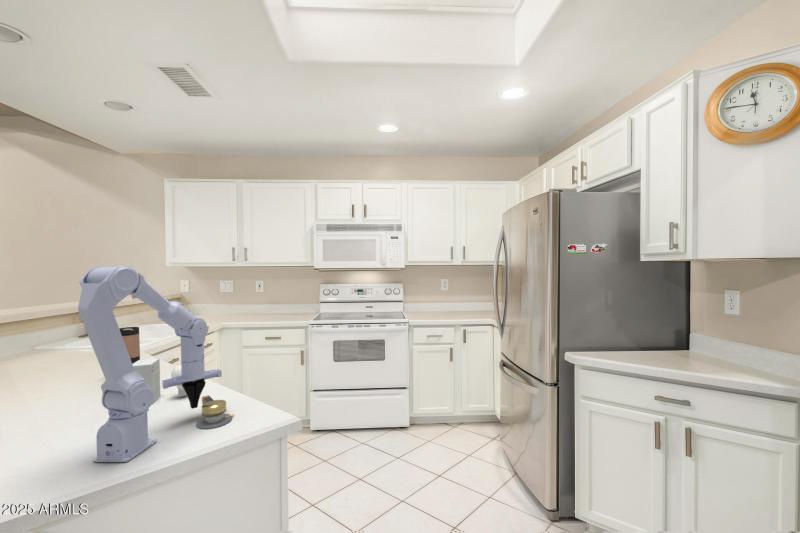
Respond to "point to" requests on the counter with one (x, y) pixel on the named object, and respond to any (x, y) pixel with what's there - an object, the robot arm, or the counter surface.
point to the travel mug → (131, 342)
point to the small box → (150, 374)
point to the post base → (210, 426)
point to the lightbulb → (176, 373)
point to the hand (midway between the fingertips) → (193, 407)
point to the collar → (212, 407)
